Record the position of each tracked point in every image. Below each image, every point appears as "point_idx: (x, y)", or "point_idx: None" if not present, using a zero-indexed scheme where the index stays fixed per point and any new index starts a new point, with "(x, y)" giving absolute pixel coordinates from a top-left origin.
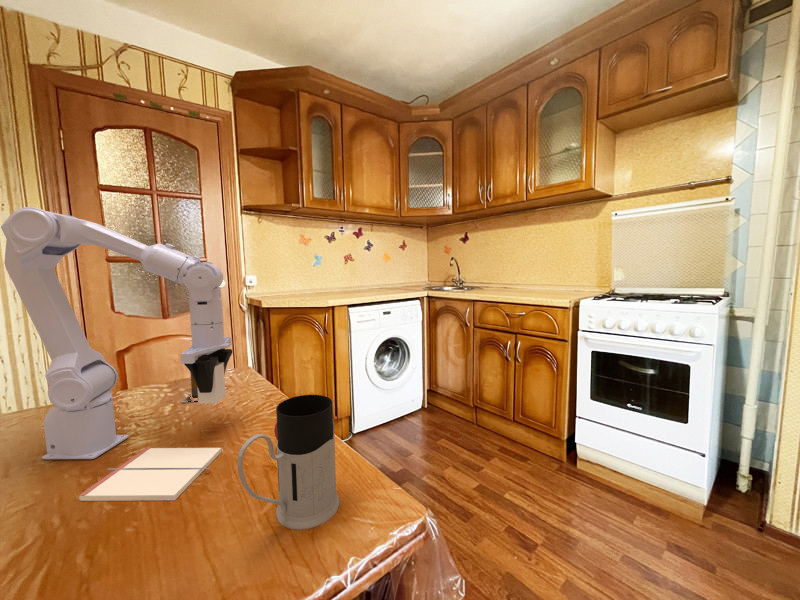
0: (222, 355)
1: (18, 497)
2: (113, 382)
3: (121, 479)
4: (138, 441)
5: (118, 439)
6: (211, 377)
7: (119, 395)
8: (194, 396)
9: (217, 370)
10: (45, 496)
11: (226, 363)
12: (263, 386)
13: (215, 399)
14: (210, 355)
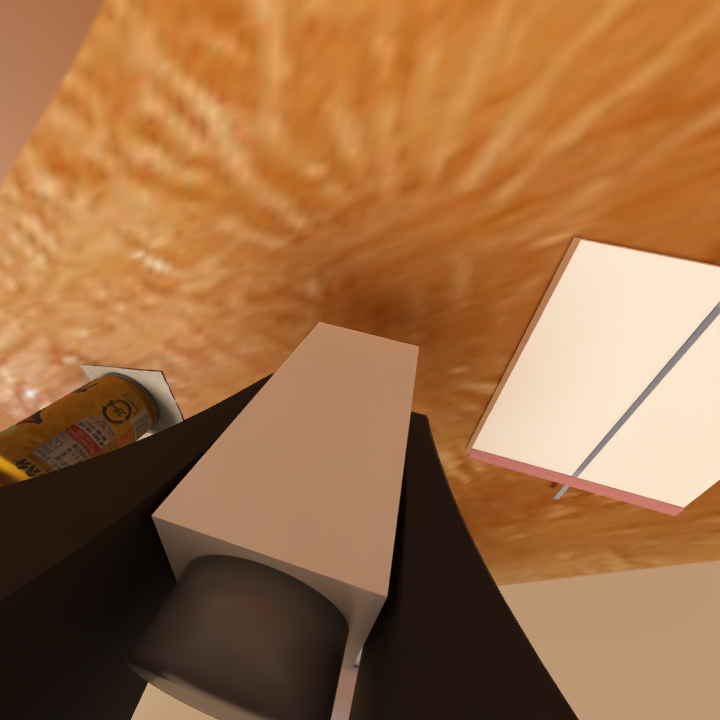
0: (45, 638)
1: (570, 569)
2: None
3: (643, 466)
4: None
5: None
6: (435, 502)
7: None
8: (153, 422)
9: (332, 506)
10: (594, 545)
11: (123, 464)
12: (4, 230)
13: (415, 361)
14: (108, 693)
